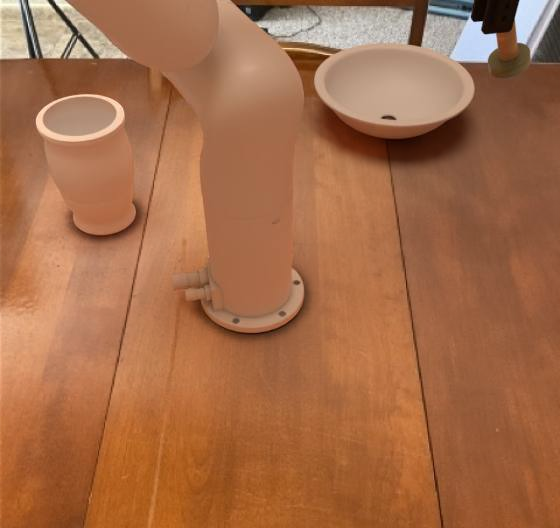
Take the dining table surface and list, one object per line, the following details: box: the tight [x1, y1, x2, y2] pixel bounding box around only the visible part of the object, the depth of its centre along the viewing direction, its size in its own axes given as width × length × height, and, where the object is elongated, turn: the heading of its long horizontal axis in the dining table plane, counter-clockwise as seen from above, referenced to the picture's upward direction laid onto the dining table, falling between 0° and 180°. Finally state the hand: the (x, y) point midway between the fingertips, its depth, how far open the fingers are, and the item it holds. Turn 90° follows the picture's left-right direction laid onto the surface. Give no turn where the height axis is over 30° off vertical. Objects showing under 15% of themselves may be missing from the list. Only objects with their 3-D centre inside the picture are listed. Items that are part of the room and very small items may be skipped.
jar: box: [35, 93, 137, 236], centre depth 87 cm, size 11×10×15 cm
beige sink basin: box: [313, 42, 475, 140], centre depth 105 cm, size 24×24×7 cm
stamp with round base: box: [487, 19, 532, 79], centre depth 69 cm, size 4×4×14 cm
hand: (490, 24), depth 71 cm, fingers closed on stamp with round base, 2 cm apart
